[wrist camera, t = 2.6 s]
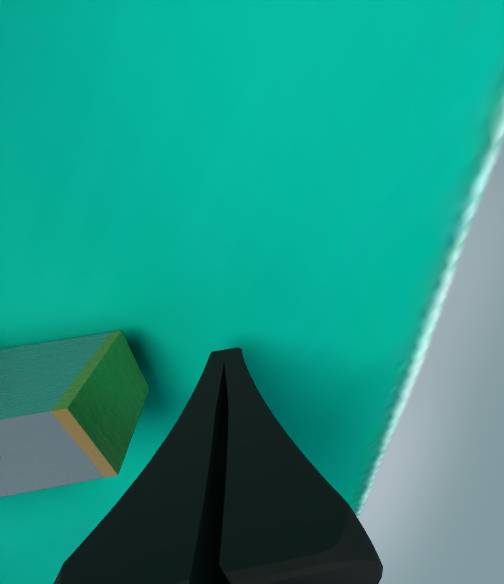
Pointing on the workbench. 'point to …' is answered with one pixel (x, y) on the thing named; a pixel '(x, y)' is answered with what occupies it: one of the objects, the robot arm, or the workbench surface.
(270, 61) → the workbench surface
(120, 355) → the peg
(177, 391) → the workbench surface
